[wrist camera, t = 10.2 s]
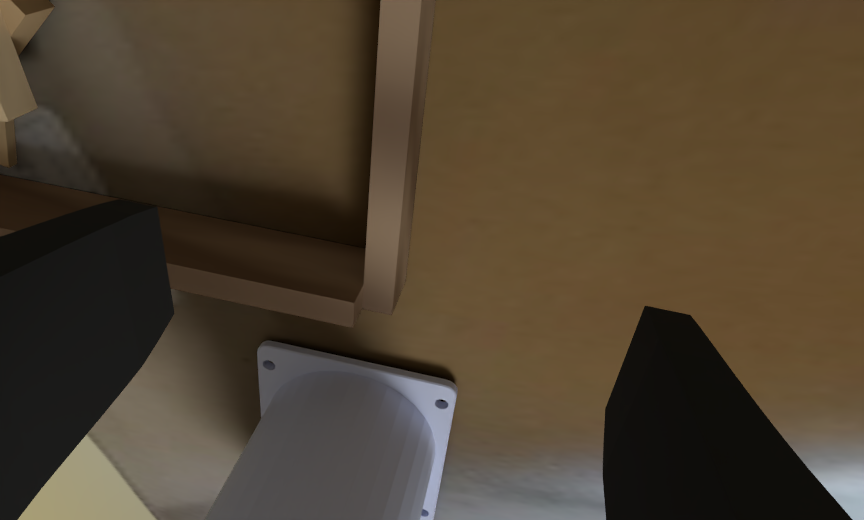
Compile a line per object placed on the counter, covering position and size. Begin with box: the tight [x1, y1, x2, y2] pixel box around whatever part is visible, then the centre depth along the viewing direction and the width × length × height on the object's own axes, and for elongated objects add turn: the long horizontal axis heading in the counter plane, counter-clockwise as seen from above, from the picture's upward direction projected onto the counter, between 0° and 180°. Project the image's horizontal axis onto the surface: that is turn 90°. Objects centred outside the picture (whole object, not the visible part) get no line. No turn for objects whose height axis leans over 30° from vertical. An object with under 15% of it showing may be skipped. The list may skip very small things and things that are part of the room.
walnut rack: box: [0, 0, 436, 328], centre depth 18 cm, size 12×17×3 cm
